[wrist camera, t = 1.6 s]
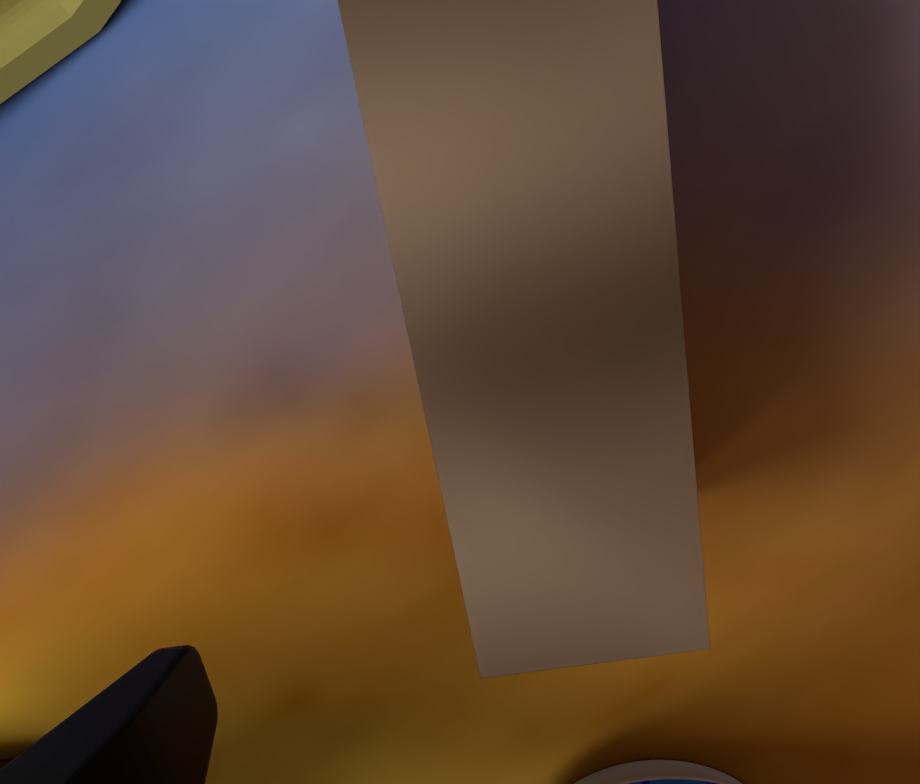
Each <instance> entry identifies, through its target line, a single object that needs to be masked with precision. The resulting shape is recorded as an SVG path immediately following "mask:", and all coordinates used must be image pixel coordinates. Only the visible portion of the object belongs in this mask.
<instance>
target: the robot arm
mask: <svg viewBox="0 0 920 784" xmlns="http://www.w3.org/2000/svg"><path fill="white" fill-rule="evenodd" d="M217 716H218V712H217V703H216V699H215V696H214V693H213V690H212V687H211V685H210V682H209V679H208V676H207V674H206V671H205V668H204V665H203V662H202V660H201V657H200V655H199V653H198V651H197V650H196V649H195V648H194V647H193V646H190V645H183V646H175V647H168V648H161V649H158V650H156V651H154V652H153V653H151V654H150V655H149V656H148V657H146V658H145V659H144V660H142V661H141V662H140V663H138V664H137V665H136V666H135V667H133V668H132V669H131V670H129V671H128V672H127V673H125V674H124V675H123V676H122V677H120V678H119V679H118V680H116V681H115V682H114V683H112V684H111V685H110V686H108V687H107V688H106V689H105V690H103V691H102V692H101V693H99V694H98V695H97V696H95V697H94V698H93V699H92V700H90V701H89V702H88V703H86V704H85V705H84V706H82V707H81V708H80V709H79V710H77V711H76V712H75V713H73V714H72V715H71V716H69V717H68V718H67V719H65V720H64V721H63V722H62V723H60V724H59V725H58V726H56V727H55V728H54V729H52V730H51V731H50V732H49V733H47V734H46V735H45V736H43V737H42V738H41V739H39V740H38V741H37V742H36V743H34V744H33V745H32V746H30V747H29V748H28V749H26V750H25V751H24V752H23V753H21V754H20V755H19V756H17V757H16V758H12V759H4V760H0V784H205V781H206V776H207V771H208V766H209V760H210V755H211V750H212V745H213V740H214V735H215V730H216V725H217Z"/></svg>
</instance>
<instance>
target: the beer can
mask: <svg viewBox="0 0 920 784" xmlns="http://www.w3.org/2000/svg"><path fill="white" fill-rule="evenodd" d="M574 784H742V783H741V782H739V781H738V780H736V779H734V778H733V777H731V776H729V775H727V774H725V773H723V772H720V771H718V770H715V769H713V768H710V767H706V766H703V765H699V764H695V763H691V762H684V761H677V760H643V761H635V762H629V763H624V764H620V765H615V766H612V767H609V768H606V769H602V770H600V771H598V772H595V773H593V774H590V775H588V776H586V777H584V778H582V779H580V780H579V781H577V782H576V783H574Z"/></svg>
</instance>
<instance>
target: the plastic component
mask: <svg viewBox="0 0 920 784" xmlns="http://www.w3.org/2000/svg"><path fill="white" fill-rule="evenodd" d="M120 2H121V0H0V104H1V103H2V102H4V101H5V100H7V99H8V98H9V97H11V96H12V95H13V94H15V93H16V92H18V91H19V90H20V89H22V88H23V87H24V86H26V85H27V84H29V83H30V82H31V81H33V80H34V79H35V78H37V77H38V76H40V75H41V74H42V73H44V72H45V71H46V70H48V69H49V68H50V67H52V66H53V65H55V64H56V63H57V62H59V61H60V60H61V59H63V58H64V57H66V56H67V55H68V54H70V53H71V52H72V51H74V50H75V49H77V48H78V47H79V46H81V45H82V44H83V43H85V42H86V41H87V40H89V39H90V38H92V37H93V36H94V35H96V34H97V33H98V32H100V30H101V29H102V28H103V26H104V25H105V23H106V22H107V20H108V19H109V18H110V16H111V15H112V13H113V12H114V11H115V9H116V8H117V6H118V5H119V4H120Z"/></svg>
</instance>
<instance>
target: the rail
mask: <svg viewBox="0 0 920 784" xmlns="http://www.w3.org/2000/svg"><path fill="white" fill-rule="evenodd" d="M338 4H339V9H340V14H341V18H342V23H343V28H344V33H345V37H346V42H347V47H348V52H349V56H350V61H351V66H352V71H353V75H354V80H355V85H356V90H357V94H358V99H359V104H360V109H361V113H362V118H363V123H364V128H365V132H366V137H367V142H368V146H369V151H370V156H371V161H372V165H373V170H374V175H375V180H376V184H377V189H378V194H379V199H380V203H381V208H382V213H383V218H384V222H385V227H386V232H387V237H388V241H389V246H390V251H391V256H392V260H393V265H394V270H395V275H396V279H397V284H398V289H399V294H400V298H401V303H402V308H403V313H404V317H405V322H406V327H407V332H408V336H409V341H410V346H411V350H412V355H413V360H414V365H415V369H416V374H417V379H418V384H419V388H420V393H421V398H422V403H423V407H424V412H425V417H426V422H427V426H428V431H429V436H430V441H431V445H432V450H433V455H434V460H435V464H436V469H437V474H438V479H439V483H440V488H441V493H442V498H443V502H444V507H445V512H446V517H447V521H448V526H449V531H450V536H451V540H452V545H453V550H454V554H455V559H456V564H457V569H458V573H459V578H460V583H461V588H462V592H463V597H464V602H465V607H466V611H467V616H468V621H469V626H470V630H471V635H472V640H473V645H474V649H475V654H476V659H477V664H478V668H479V673H480V678H486V677H494V676H502V675H510V674H518V673H526V672H534V671H541V670H549V669H557V668H565V667H573V666H581V665H588V664H596V663H604V662H612V661H620V660H628V659H636V658H643V657H651V656H659V655H667V654H675V653H683V652H691V651H698V650H706V649H710V644H709V631H708V619H707V607H706V595H705V582H704V570H703V558H702V545H701V533H700V521H699V508H698V496H697V484H696V471H695V459H694V447H693V434H692V422H691V410H690V398H689V385H688V373H687V361H686V348H685V336H684V324H683V311H682V299H681V287H680V274H679V262H678V250H677V237H676V225H675V213H674V201H673V188H672V176H671V164H670V151H669V139H668V127H667V114H666V102H665V90H664V77H663V65H662V53H661V40H660V28H659V16H658V4H657V0H338Z"/></svg>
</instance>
